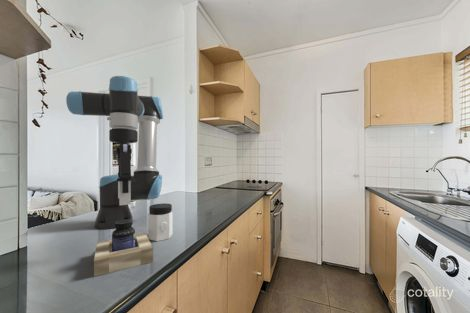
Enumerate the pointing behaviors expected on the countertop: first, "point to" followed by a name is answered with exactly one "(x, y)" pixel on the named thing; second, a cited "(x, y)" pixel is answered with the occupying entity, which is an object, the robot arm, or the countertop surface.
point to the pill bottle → (123, 235)
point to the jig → (122, 256)
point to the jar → (160, 222)
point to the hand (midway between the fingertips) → (123, 201)
